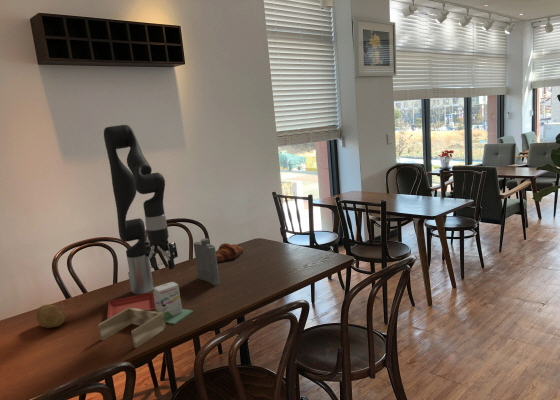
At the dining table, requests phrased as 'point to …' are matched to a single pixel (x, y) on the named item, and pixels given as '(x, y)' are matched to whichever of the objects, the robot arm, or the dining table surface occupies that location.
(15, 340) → the dining table surface
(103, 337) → the beige u-shaped bracket
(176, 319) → the mat
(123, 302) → the plant saucer
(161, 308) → the ink box
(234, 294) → the dining table surface
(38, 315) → the potato
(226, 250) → the pastry
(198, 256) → the hip flask
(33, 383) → the dining table surface
